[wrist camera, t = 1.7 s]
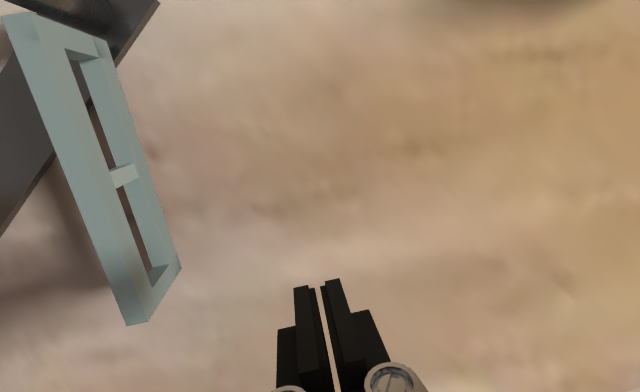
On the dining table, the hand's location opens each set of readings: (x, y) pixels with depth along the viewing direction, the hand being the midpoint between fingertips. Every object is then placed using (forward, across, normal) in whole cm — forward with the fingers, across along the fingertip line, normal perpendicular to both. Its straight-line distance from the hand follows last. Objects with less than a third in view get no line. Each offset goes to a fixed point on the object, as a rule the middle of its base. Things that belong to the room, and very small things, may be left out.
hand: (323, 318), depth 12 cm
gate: (+19, +13, -5) cm, 24 cm away
